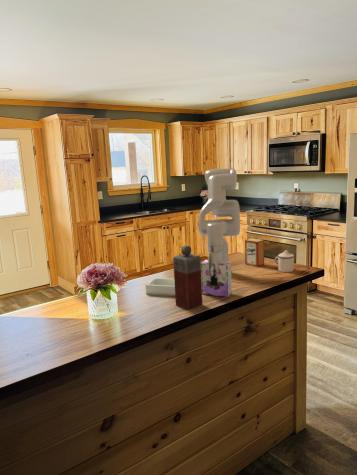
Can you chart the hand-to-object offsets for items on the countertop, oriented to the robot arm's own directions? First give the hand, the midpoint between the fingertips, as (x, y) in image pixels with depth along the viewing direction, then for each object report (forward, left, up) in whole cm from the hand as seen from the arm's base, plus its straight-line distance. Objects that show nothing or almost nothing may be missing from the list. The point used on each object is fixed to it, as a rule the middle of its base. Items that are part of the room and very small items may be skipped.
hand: (216, 282), depth 186 cm
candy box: (0, 0, -6) cm, 6 cm away
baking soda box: (-56, +11, -6) cm, 58 cm away
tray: (+1, -25, -6) cm, 26 cm away
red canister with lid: (+16, -10, -6) cm, 20 cm away
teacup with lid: (-47, +29, -6) cm, 56 cm away
